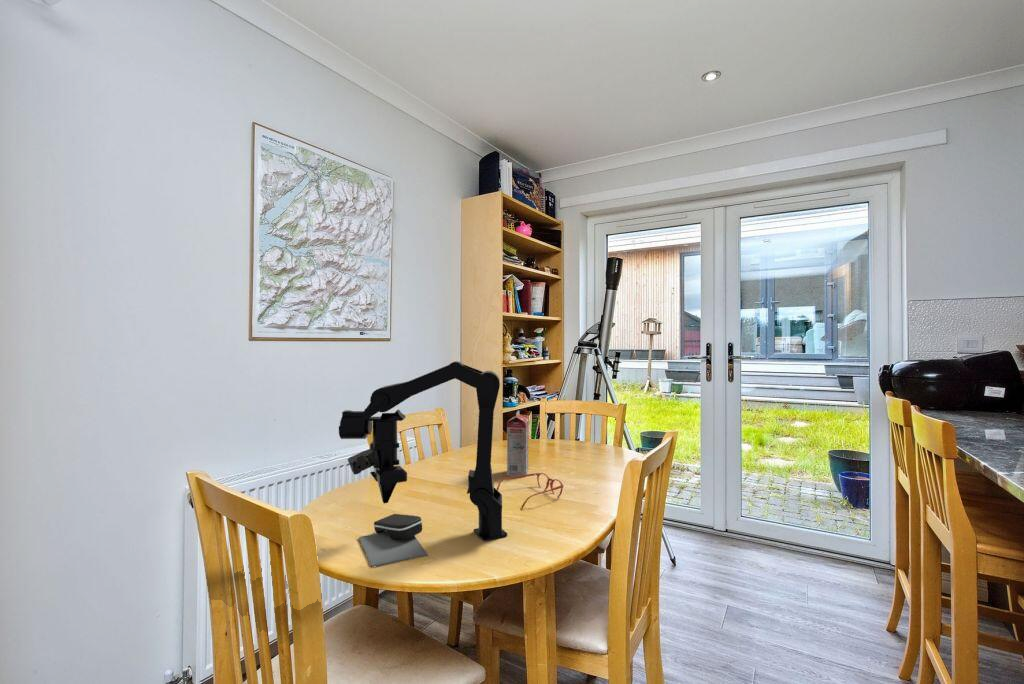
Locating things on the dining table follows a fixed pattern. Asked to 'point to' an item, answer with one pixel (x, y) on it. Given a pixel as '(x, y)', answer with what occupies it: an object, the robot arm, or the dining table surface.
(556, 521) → the dining table surface
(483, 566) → the dining table surface
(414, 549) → the mat
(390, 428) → the robot arm
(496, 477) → the dining table surface
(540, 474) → the red eyeglasses
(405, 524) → the battery charger
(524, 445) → the juice carton
